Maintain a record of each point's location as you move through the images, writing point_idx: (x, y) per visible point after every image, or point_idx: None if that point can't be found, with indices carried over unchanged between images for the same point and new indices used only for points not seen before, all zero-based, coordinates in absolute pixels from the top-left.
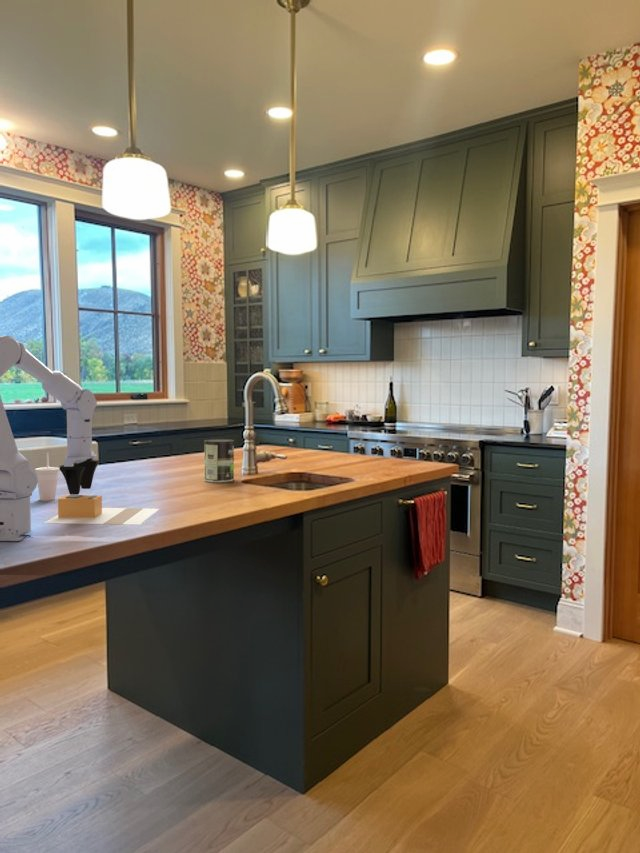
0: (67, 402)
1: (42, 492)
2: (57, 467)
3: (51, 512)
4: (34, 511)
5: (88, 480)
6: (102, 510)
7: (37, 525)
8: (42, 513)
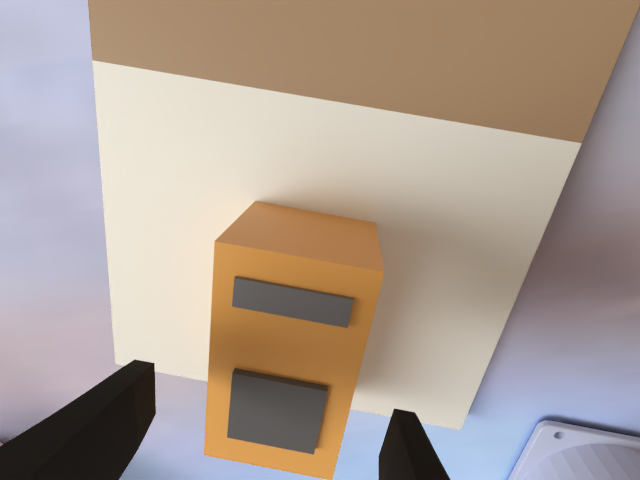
0: None
1: None
2: None
3: (165, 420)
4: (154, 472)
5: (102, 433)
6: (179, 209)
7: None
8: (187, 445)
